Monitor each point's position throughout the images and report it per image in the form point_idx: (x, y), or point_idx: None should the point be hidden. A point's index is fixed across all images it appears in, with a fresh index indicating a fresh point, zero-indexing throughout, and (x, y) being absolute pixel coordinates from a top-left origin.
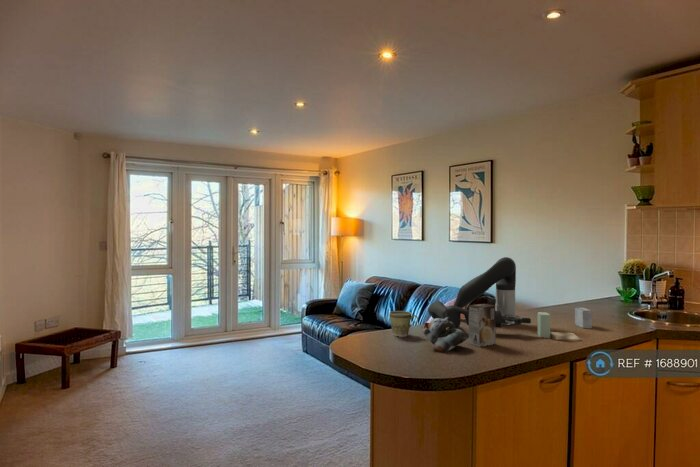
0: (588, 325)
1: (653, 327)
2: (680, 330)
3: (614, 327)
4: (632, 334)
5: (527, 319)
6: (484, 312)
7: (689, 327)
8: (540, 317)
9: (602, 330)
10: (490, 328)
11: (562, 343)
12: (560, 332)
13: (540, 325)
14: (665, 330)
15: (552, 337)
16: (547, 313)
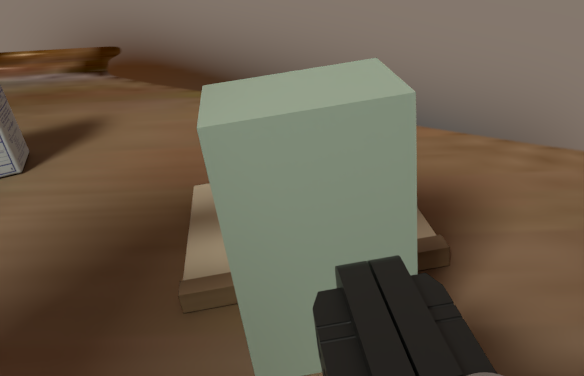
0: (21, 145)
1: (41, 76)
2: (90, 55)
3: (22, 117)
4: (158, 88)
5: (432, 299)
6: None
7: (52, 52)
8: (412, 135)
9: (81, 132)
10: None
11: (549, 218)
12: (191, 230)
13: (414, 237)
14: (89, 64)
15: (421, 259)
16: (274, 77)
